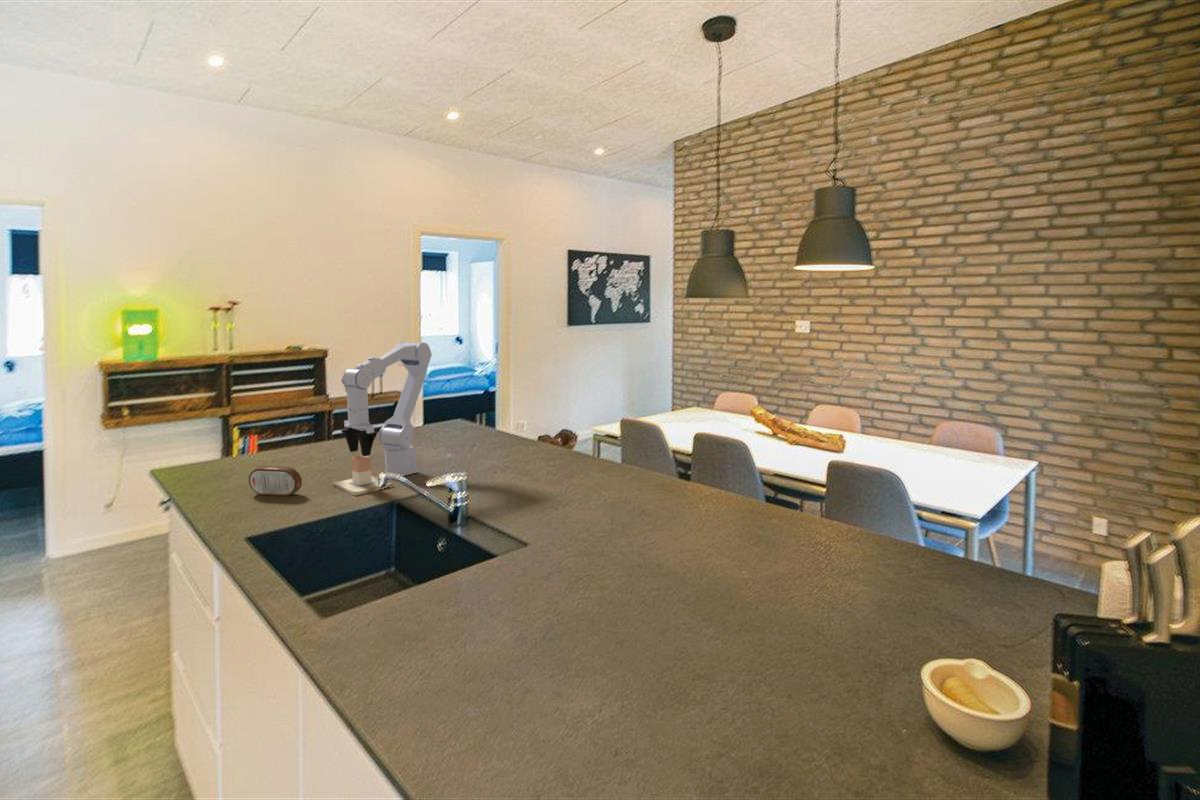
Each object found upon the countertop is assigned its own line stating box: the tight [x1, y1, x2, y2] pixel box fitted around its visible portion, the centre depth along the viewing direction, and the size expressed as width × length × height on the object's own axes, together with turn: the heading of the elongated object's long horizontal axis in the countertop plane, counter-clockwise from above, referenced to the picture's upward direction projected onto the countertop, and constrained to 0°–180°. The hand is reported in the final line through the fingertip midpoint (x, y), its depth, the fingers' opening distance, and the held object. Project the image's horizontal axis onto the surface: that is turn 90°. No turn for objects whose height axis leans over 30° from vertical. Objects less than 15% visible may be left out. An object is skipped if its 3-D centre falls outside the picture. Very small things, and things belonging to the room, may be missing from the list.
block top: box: [350, 455, 372, 473], centre depth 187 cm, size 4×4×4 cm
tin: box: [248, 465, 303, 497], centre depth 179 cm, size 15×3×8 cm, turn 84°
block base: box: [351, 469, 373, 486], centre depth 188 cm, size 4×4×4 cm
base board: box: [332, 475, 394, 497], centre depth 188 cm, size 12×14×1 cm
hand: (359, 453), depth 186 cm, fingers open, 7 cm apart
